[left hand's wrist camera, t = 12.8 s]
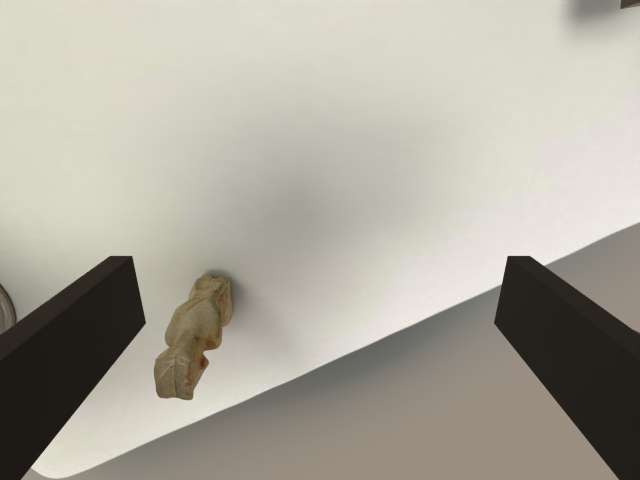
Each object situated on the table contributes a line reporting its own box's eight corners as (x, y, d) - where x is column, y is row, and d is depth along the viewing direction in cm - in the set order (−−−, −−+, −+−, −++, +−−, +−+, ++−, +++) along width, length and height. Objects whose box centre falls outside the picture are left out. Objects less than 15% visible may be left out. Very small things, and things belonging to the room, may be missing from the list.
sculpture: (192, 313, 47) (138, 402, 33) (195, 264, 44) (138, 338, 30) (236, 320, 47) (201, 411, 33) (242, 272, 45) (207, 348, 31)
